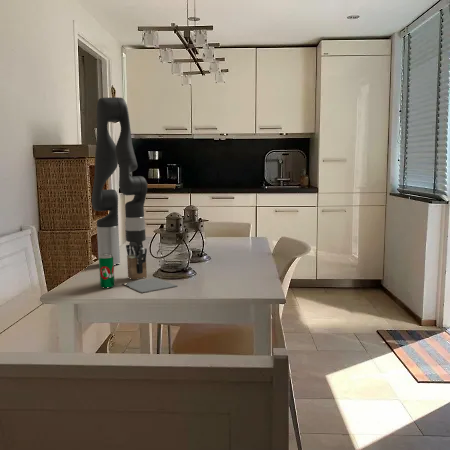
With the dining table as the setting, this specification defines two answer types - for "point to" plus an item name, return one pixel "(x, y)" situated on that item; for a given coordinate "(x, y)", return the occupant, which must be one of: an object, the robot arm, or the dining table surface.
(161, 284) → the mat
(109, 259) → the soda can
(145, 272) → the block
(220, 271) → the dining table surface
